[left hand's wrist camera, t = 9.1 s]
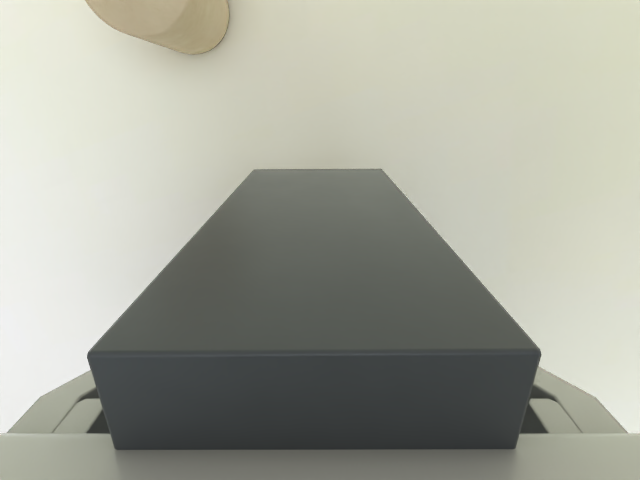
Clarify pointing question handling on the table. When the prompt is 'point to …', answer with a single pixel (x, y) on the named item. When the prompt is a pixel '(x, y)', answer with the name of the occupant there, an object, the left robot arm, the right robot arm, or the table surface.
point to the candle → (168, 21)
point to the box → (315, 331)
